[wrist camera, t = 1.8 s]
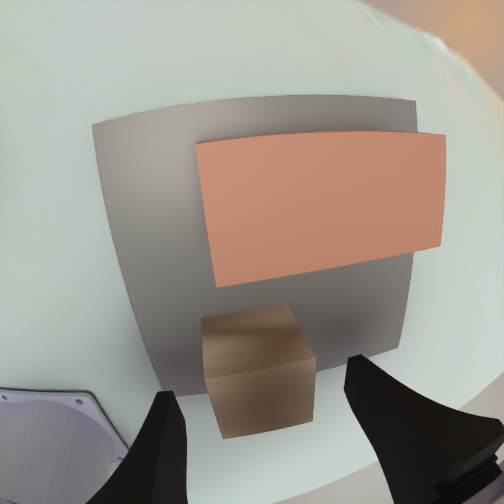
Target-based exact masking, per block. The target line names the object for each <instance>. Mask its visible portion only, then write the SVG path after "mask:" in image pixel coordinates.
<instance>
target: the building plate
mask: <svg viewBox="0 0 504 504" xmlns="http://www.w3.org/2000/svg"><path fill="white" fill-rule="evenodd" d="M92 130H93V138H94V145H95V152H96V159H97V165H98V171H99V177H100V182H101V187H102V193H103V198H104V203H105V207H106V212H107V217H108V221H109V226H110V230H111V234H112V238H113V242H114V246H115V250H116V254H117V258H118V262H119V265H120V269H121V272H122V276H123V279H124V283H125V286H126V290H127V293H128V296H129V299H130V303H131V306H132V309H133V312H134V315H135V318H136V321H137V324H138V327H139V330H140V333H141V335H142V338H143V341H144V344H145V347H146V349H147V352H148V355H149V357H150V360H151V362H152V365H153V368H154V370H155V373H156V375H157V378H158V380H159V383H160V385H161V387H162V390H163V391H171V390H173V392H174V395H175V396H184V395H193V394H201V393H208V390H207V386H206V383H205V380H204V367H203V350H202V331H201V317H207V316H214V315H220V314H226V313H233V312H239V311H245V310H250V309H256V308H262V307H267V306H273V305H278V304H284V303H288V305H289V307H290V309H291V311H292V313H293V315H294V317H295V319H296V321H297V323H298V324H299V326H300V328H301V330H302V332H303V334H304V336H305V338H306V340H307V342H308V344H309V346H310V348H311V349H312V351H313V353H314V355H315V357H316V367H315V372H317V371H321V370H325V369H329V368H332V367H336V366H340V365H343V364H347V361H348V357H352V356H355V355H359V354H362V355H363V356H365V357H366V358H367V357H370V356H374V355H377V354H380V353H383V352H386V351H389V350H392V349H395V348H398V345H399V341H400V336H401V331H402V326H403V321H404V316H405V310H406V304H407V298H408V292H409V285H410V278H411V271H412V263H413V254H414V252H410V253H405V254H400V255H396V256H391V257H386V258H381V259H375V260H370V261H365V262H360V263H355V264H350V265H344V266H339V267H334V268H328V269H323V270H317V271H312V272H306V273H301V274H295V275H289V276H283V277H278V278H272V279H266V280H260V281H254V282H248V283H242V284H236V285H230V286H223V287H217V288H216V282H215V277H214V271H213V265H212V258H211V252H210V246H209V240H208V233H207V227H206V220H205V213H204V206H203V200H202V193H201V185H200V178H199V171H198V163H197V155H196V147H195V144H196V142H201V141H208V140H215V139H223V138H232V137H240V136H250V135H261V134H272V133H286V132H303V131H327V130H389V131H406V132H417V114H416V101H411V100H402V99H392V98H381V97H366V96H345V95H288V96H266V97H251V98H239V99H229V100H220V101H211V102H203V103H196V104H189V105H182V106H176V107H170V108H165V109H159V110H154V111H149V112H144V113H139V114H134V115H130V116H125V117H121V118H117V119H113V120H108V121H105V122H101V123H97V124H93V125H92Z"/></svg>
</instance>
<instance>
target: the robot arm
mask: <svg viewBox="0 0 504 504" xmlns="http://www.w3.org/2000/svg"><path fill="white" fill-rule="evenodd" d="M344 392H345V394H346V397H347V400H348V402H349V405H350V407H351V409H352V411H353V413H354V415H355V417H356V418H357V420H358V422H359V424H360V425H361V427H362V429H363V431H364V432H365V434H366V436H367V438H368V439H369V441H370V443H371V445H372V447H373V449H374V451H375V453H376V455H377V457H378V460H379V462H380V464H381V467H382V469H383V472H384V475H385V478H386V480H387V483H388V486H389V489H390V492H391V495H392V498H393V501H394V504H504V460H503V461H502V462H501V463H500V464H499V465H497V463H496V462H495V461H497V459H498V457H497V456H496V455H495V452H496V451H497V450H498V449H499V447H500V446H501V445H502V444H503V443H504V425H503V424H502V423H501V421H500V420H499V419H495V418H488V417H482V416H477V415H473V414H469V413H465V412H461V411H458V410H455V409H452V408H450V407H447V406H444V405H442V404H439V403H437V402H435V401H433V400H431V399H428V398H426V397H424V396H422V395H420V394H419V393H417V392H415V391H413V390H412V389H410V388H408V387H407V386H405V385H404V384H402V383H401V382H399V381H398V380H396V379H395V378H393V377H392V376H390V375H389V374H387V373H386V372H385V371H383V370H382V369H381V368H379V367H378V366H377V365H375V364H374V363H373V362H371V361H370V360H369V359H367V358H366V357H365V356H363V355H362V354H359V355H355V356H352V357H348V361H347V369H346V377H345V384H344ZM111 461H116V462H121V463H120V465H119V466H118V468H117V469H116V470H115V472H114V473H113V474H112V475H111V477H110V478H109V472H110V465H111ZM186 471H187V435H186V425H185V419H184V417H183V414H182V412H181V409H180V407H179V405H178V402H177V400H176V397H175V395H174V392H173V390H171V391H160V392H157V394H156V396H155V398H154V401H153V403H152V406H151V408H150V410H149V413H148V415H147V417H146V419H145V421H144V423H143V425H142V427H141V429H140V431H139V433H138V435H137V437H136V439H135V441H134V442H133V444H132V446H131V448H130V449H129V450H128V449H127V447H126V446H125V445H124V443H123V442H122V440H121V439H120V438H119V436H118V435H117V433H116V432H115V430H114V429H113V428H112V426H111V425H110V423H109V422H108V420H107V419H106V417H105V415H104V414H103V412H102V411H101V409H100V408H99V406H98V404H97V403H96V401H95V399H94V398H93V397H92V396H91V395H90V394H88V393H54V392H29V391H14V390H2V389H0V504H188V501H187V489H186Z"/></svg>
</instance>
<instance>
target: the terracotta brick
mask: <svg viewBox="0 0 504 504" xmlns="http://www.w3.org/2000/svg"><path fill="white" fill-rule="evenodd" d="M195 147H196V155H197V163H198V171H199V178H200V185H201V193H202V200H203V206H204V213H205V220H206V227H207V233H208V240H209V246H210V252H211V258H212V265H213V271H214V277H215V282H216V288H217V287H223V286H230V285H236V284H242V283H248V282H254V281H260V280H266V279H272V278H278V277H283V276H289V275H295V274H301V273H306V272H312V271H317V270H323V269H328V268H334V267H339V266H344V265H350V264H355V263H360V262H365V261H370V260H375V259H381V258H386V257H391V256H396V255H400V254H405V253H410V252H415V251H420V250H425V249H429V248H434V247H439V246H440V244H441V235H442V225H443V214H444V200H445V179H446V135H441V134H431V133H419V132H406V131H389V130H327V131H303V132H286V133H272V134H261V135H250V136H240V137H232V138H223V139H215V140H208V141H201V142H196V144H195Z"/></svg>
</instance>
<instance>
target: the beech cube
mask: <svg viewBox="0 0 504 504" xmlns="http://www.w3.org/2000/svg"><path fill="white" fill-rule="evenodd" d="M201 331H202V350H203V367H204V380H205V383H206V386H207V390H208V393H209V397H210V400H211V403H212V406H213V410H214V413H215V416H216V419H217V422H218V425H219V428H220V432H221V435H222V438H223V439H227V438H234V437H240V436H246V435H252V434H257V433H263V432H268V431H273V430H277V429H282V428H286V427H291V426H295V425H299V424H303V423H307V422H311V421H313V408H314V390H315V367H316V357H315V355H314V353H313V351H312V349H311V348H310V346H309V344H308V342H307V340H306V338H305V336H304V334H303V332H302V330H301V328H300V326H299V324H298V323H297V321H296V319H295V317H294V315H293V313H292V311H291V309H290V307H289V305H288V303H284V304H278V305H273V306H267V307H262V308H256V309H250V310H245V311H239V312H233V313H226V314H220V315H214V316H207V317H201Z"/></svg>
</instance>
